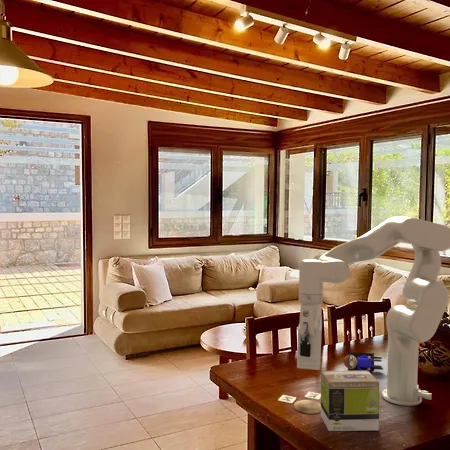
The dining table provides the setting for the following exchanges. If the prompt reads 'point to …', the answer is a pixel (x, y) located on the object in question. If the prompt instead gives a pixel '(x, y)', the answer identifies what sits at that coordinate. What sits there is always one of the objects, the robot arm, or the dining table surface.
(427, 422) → the dining table surface
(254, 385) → the dining table surface
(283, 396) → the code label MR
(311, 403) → the cork coaster
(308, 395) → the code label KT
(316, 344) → the supplement box
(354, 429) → the tea box
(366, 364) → the character figurine
